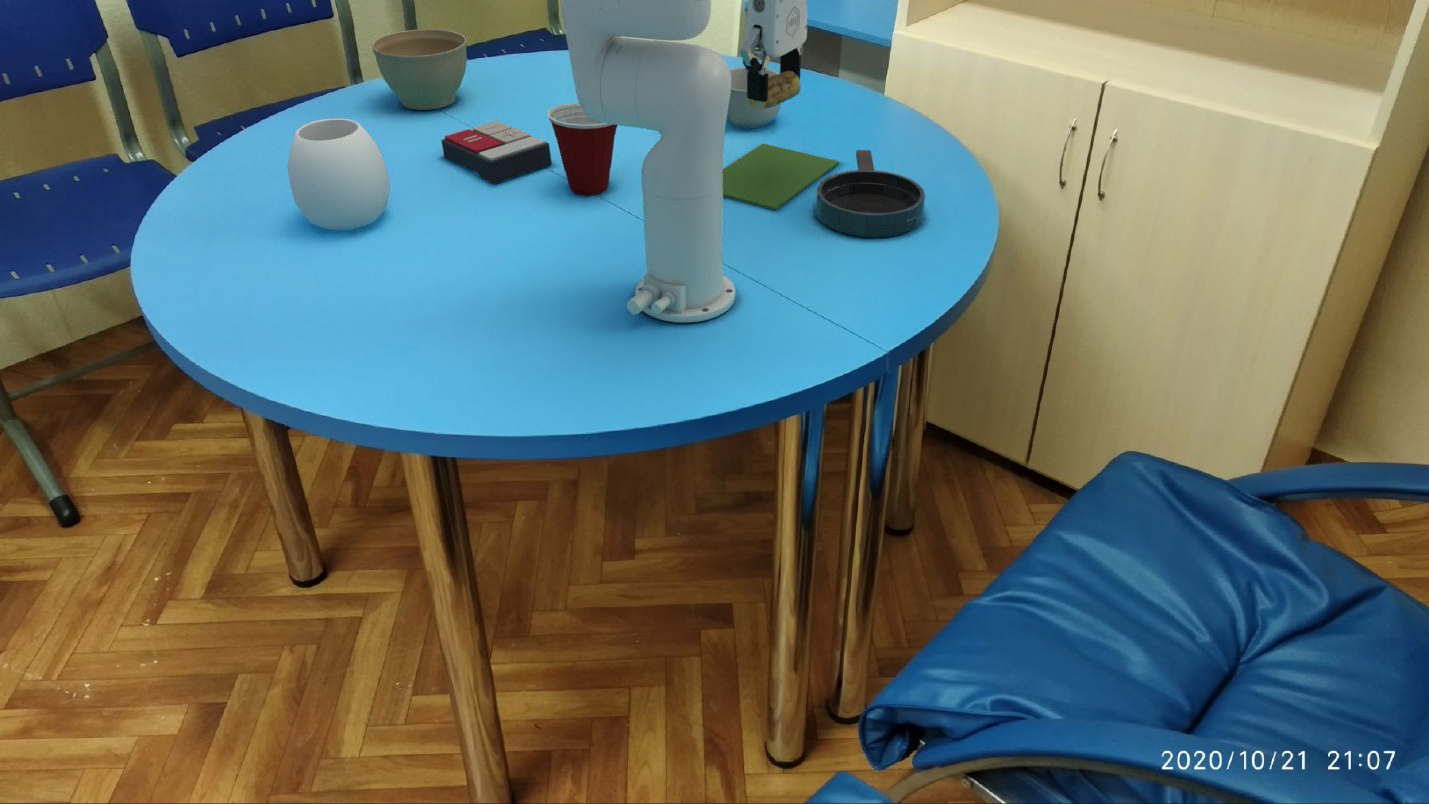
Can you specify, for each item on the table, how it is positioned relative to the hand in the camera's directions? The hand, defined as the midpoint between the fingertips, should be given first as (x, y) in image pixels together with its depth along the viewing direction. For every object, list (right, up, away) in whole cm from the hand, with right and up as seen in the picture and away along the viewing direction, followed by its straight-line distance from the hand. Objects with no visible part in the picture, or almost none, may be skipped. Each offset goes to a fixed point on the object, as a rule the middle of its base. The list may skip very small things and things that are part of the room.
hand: (773, 90), depth 155 cm
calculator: (-44, -8, +14) cm, 46 cm away
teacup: (-4, +3, +28) cm, 28 cm away
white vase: (-62, -20, -3) cm, 65 cm away
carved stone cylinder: (0, -2, +1) cm, 2 cm away
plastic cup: (-28, -14, +5) cm, 31 cm away
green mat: (0, -11, +8) cm, 14 cm away
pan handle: (+14, -10, +5) cm, 18 cm away
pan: (+13, -19, -3) cm, 23 cm away
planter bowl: (-61, +8, +36) cm, 71 cm away
